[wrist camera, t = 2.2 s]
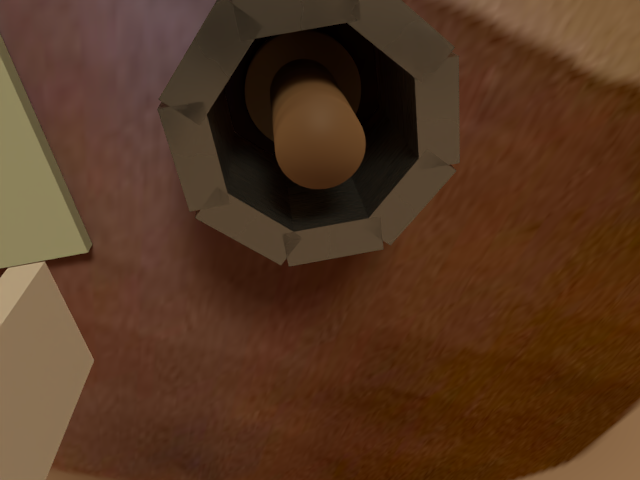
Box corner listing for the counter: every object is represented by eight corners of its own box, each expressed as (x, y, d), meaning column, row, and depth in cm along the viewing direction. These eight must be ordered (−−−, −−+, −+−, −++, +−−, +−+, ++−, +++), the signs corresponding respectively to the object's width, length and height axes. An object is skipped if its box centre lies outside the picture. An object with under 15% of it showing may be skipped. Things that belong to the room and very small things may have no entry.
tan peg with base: (258, 150, 25) (258, 229, 18) (233, 38, 22) (223, 81, 16) (363, 132, 25) (403, 203, 18) (350, 18, 23) (392, 51, 16)
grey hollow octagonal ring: (221, 203, 26) (211, 280, 20) (162, -12, 21) (125, 5, 15) (413, 168, 26) (460, 235, 20) (400, -54, 21) (457, -52, 15)
